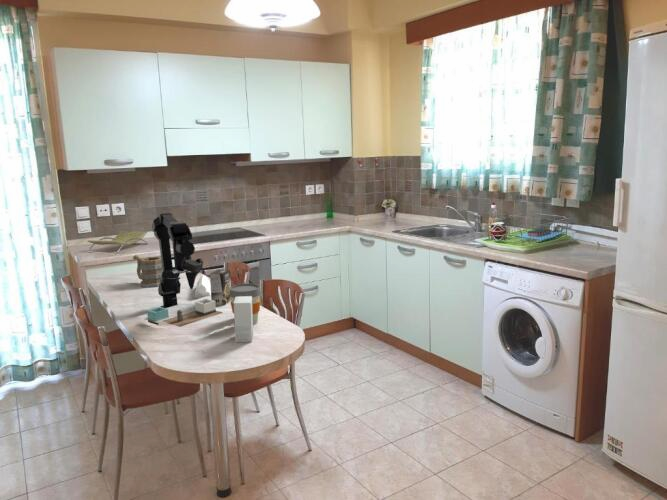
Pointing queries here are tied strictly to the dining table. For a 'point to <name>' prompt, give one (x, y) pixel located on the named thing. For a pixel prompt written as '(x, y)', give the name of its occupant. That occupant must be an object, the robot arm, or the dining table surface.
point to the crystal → (203, 287)
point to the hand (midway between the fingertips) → (184, 291)
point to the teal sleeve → (157, 314)
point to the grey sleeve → (205, 307)
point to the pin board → (188, 318)
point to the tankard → (149, 271)
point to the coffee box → (220, 286)
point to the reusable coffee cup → (247, 291)
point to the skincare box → (243, 319)
